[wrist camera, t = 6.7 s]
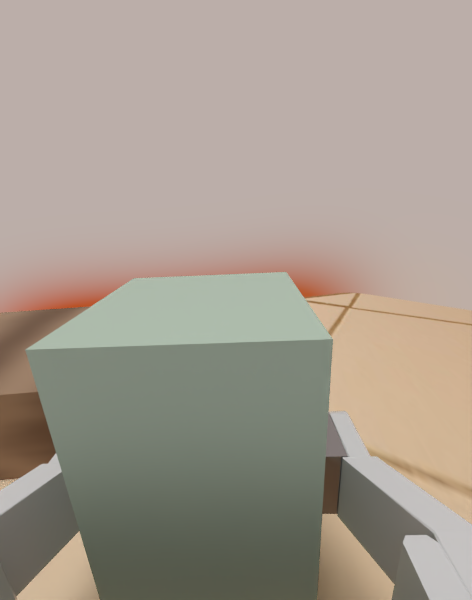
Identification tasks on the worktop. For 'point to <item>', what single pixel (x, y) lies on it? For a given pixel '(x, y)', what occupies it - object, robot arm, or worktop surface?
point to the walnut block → (24, 391)
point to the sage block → (193, 436)
